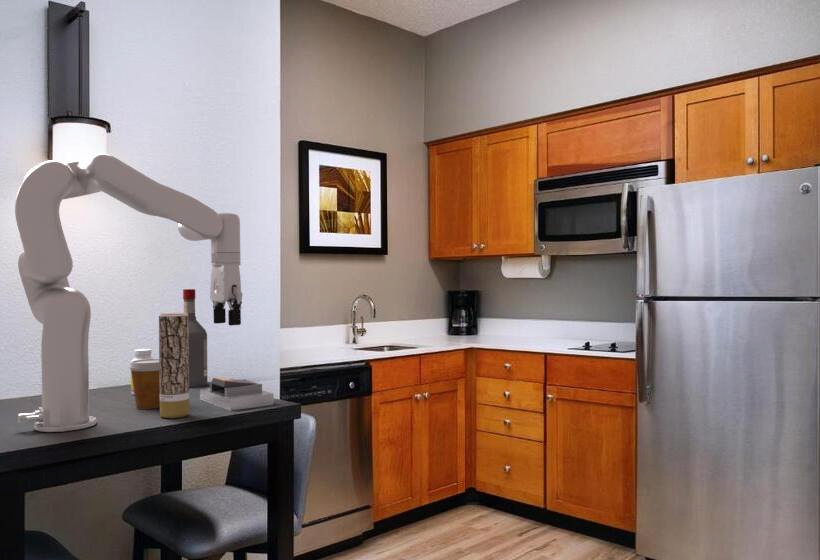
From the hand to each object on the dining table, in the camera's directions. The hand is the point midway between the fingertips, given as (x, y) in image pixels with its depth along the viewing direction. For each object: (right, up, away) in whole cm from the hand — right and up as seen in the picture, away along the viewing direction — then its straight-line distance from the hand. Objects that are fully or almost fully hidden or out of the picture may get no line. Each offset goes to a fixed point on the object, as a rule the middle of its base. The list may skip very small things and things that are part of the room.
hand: (227, 324), depth 178 cm
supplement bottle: (-29, -22, +16) cm, 39 cm away
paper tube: (-9, -22, -16) cm, 28 cm away
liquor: (-20, -21, +30) cm, 42 cm away
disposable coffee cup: (-19, -22, -4) cm, 29 cm away
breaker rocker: (+2, -16, +2) cm, 16 cm away
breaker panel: (+2, -21, +2) cm, 21 cm away
